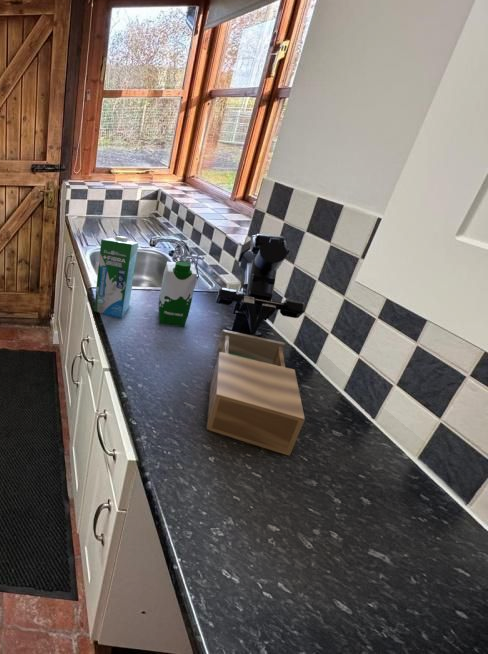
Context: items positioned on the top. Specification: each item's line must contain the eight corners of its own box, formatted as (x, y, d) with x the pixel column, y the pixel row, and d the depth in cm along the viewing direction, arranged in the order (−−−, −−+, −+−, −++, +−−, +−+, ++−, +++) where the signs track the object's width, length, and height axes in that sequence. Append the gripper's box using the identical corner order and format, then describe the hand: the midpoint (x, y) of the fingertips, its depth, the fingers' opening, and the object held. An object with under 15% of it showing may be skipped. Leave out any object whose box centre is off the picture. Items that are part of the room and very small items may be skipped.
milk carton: (129, 306, 134) (139, 235, 124) (121, 318, 128) (131, 244, 117) (102, 300, 139) (110, 230, 128) (93, 311, 132) (101, 239, 121)
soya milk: (156, 324, 124) (167, 265, 115) (155, 311, 131) (165, 253, 123) (187, 329, 121) (201, 268, 113) (185, 314, 129) (197, 256, 120)
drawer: (216, 351, 109) (222, 327, 106) (275, 365, 103) (284, 340, 100) (213, 388, 96) (221, 361, 93) (281, 406, 90) (291, 378, 87)
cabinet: (210, 384, 99) (219, 351, 95) (282, 403, 92) (294, 369, 88) (206, 429, 86) (216, 394, 82) (289, 456, 79) (305, 419, 75)
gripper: (295, 295, 110) (288, 350, 106) (218, 282, 118) (208, 332, 114) (309, 280, 100) (301, 340, 96) (224, 267, 108) (213, 321, 104)
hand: (252, 333), depth 103 cm, fingers closed
